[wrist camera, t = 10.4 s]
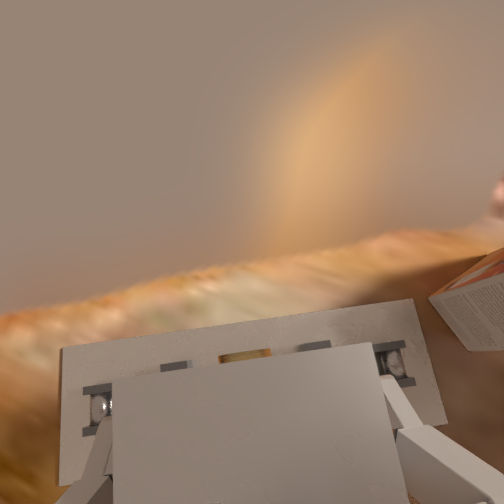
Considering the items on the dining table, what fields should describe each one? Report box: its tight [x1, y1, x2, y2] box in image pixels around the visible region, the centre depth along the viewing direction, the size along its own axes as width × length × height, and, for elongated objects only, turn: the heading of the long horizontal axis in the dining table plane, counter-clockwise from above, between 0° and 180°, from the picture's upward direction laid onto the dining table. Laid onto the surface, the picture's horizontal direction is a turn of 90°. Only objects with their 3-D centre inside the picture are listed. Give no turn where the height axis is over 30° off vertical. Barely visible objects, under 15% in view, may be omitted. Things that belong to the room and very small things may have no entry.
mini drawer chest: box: [112, 342, 410, 504], centre depth 10 cm, size 5×4×9 cm
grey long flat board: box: [59, 298, 448, 486], centre depth 26 cm, size 30×10×4 cm, turn 98°
